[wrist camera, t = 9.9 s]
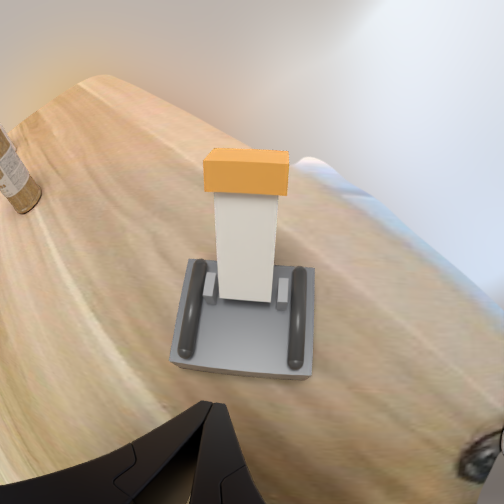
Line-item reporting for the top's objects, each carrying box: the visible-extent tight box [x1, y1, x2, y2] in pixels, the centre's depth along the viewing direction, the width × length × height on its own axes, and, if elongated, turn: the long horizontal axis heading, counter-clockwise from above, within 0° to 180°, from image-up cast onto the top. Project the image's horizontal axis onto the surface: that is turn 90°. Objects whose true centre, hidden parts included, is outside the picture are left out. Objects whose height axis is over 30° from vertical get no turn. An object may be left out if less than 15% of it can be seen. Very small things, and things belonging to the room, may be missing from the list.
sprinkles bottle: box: [0, 129, 41, 213], centre depth 24 cm, size 5×5×14 cm
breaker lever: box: [203, 148, 289, 302], centre depth 17 cm, size 2×4×9 cm, turn 85°
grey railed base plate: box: [169, 259, 315, 380], centre depth 20 cm, size 8×9×5 cm
